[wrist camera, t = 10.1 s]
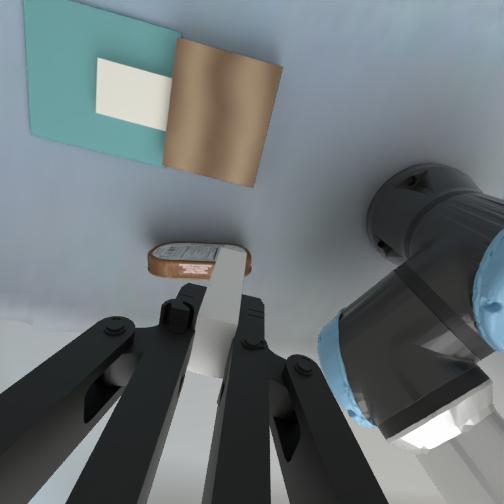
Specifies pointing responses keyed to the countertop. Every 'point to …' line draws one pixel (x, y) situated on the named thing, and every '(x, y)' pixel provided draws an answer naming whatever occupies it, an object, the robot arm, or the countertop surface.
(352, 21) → the countertop surface
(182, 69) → the brown wooden block
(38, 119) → the mat
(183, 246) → the tin
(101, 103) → the white rectangular block
